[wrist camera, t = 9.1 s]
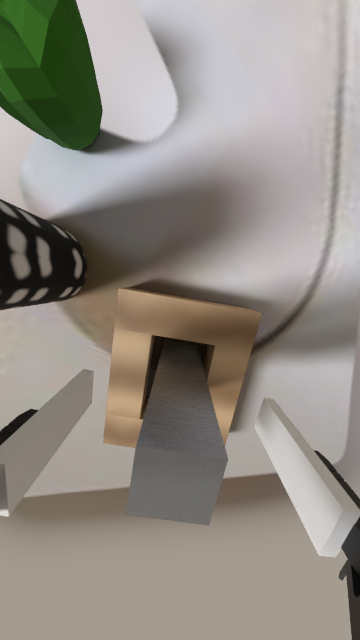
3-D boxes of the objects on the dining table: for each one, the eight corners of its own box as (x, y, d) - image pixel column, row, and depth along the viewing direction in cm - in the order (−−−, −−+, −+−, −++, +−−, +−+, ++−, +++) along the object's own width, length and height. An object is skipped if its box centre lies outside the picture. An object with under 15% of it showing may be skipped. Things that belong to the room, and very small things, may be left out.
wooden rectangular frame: (129, 287, 20) (118, 288, 16) (248, 308, 20) (262, 313, 17) (114, 419, 23) (103, 443, 20) (215, 434, 24) (220, 460, 20)
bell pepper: (130, 90, 16) (51, -216, 6) (99, 182, 17) (-3, 55, 8) (42, 38, 15) (-210, -408, 5) (18, 139, 17) (-211, -64, 7)
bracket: (164, 339, 21) (135, 446, 7) (197, 344, 21) (227, 459, 7) (156, 389, 22) (119, 557, 9) (186, 394, 23) (196, 566, 9)
